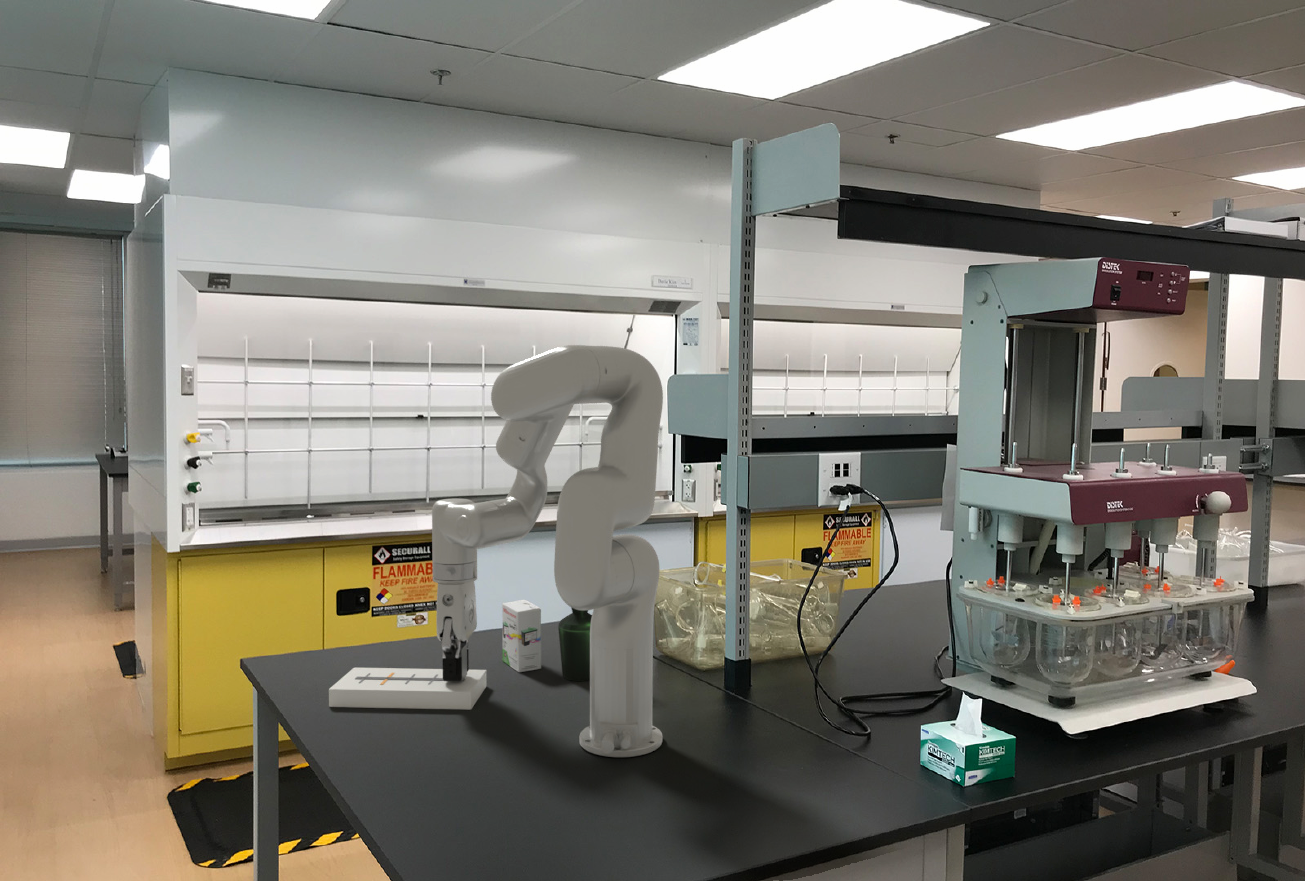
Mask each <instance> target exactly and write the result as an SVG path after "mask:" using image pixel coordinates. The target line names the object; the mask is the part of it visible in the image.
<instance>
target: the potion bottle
mask: <svg viewBox="0 0 1305 881" xmlns="http://www.w3.org/2000/svg"><path fill="white" fill-rule="evenodd" d="M570 609H571V612H572V613H570V614H568V615H567V616H565V617H563V618H562V619H560V621H559V623H558V624H557V629H558V639H559V649H560V650H559V651H560V662H561V673H562V677H563V678H564V679H566V680H569V681H573V682H581V681H582V682H583V681H584V682H585V681H590V625H591V618H592V613H589V610H585V611H583V610H577V609H574V608H572V607H570Z"/></svg>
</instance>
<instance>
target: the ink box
mask: <svg viewBox="0 0 1305 881" xmlns="http://www.w3.org/2000/svg"><path fill="white" fill-rule="evenodd" d="M501 605H502V607H501V608H502V614H501V616H502V655H501V656H502V662H503V663H505V664H506V665H507V666H509V667H510V668H512V669H513V670H515V671H516V672H518V673H522V672H529V671H534V670H535V671H536V670H540V669H542V615H541V614H542V609H541V607H539V606H537V605H536V604H534V603H532V602H530V601H528V600H526V599H520V600H519V599H518V600H514V601H510V602H509V601H508V602H503V603H502V604H501Z"/></svg>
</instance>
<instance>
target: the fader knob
mask: <svg viewBox="0 0 1305 881" xmlns="http://www.w3.org/2000/svg"><path fill="white" fill-rule="evenodd" d="M452 645H454V646H455V649H456V643H452ZM467 649H468V648H467V643H460V657H462V679H461V681H455V682H462V681H463V679H464V678H465V677H466V675H467Z"/></svg>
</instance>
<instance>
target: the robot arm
mask: <svg viewBox="0 0 1305 881" xmlns="http://www.w3.org/2000/svg"><path fill="white" fill-rule="evenodd" d="M490 400H491V405H492V408H493V411H494V412H495V414H496V415H497V416H499V417H500V418H501V419H503V420H504V421H506V422H505V424H504V426H503V427H502V430H501V432H500V434H499V436H498V438H497V440H496V442H495V450H496V452H497V454H498V456H499V457H500V458H501V460H502V461H504V462H505V464H507V465H508V466H510V467H511V468H512V469H515V470H516V475H515V479H514V481H513V484H512V486H511V488H510V490H509V492H508V494H507V495H506V497H505V498H501V499H495V500H493V499H492V500H486V501H483V502H481V501H480V502H474V501H473V500H471V499H468V498H444V499H439V500H437V501H435V502H434V504H433V505H432V510H431V532H432V533H431V541H432V543H431V544H432V545H431V546H432V547H431V548H432V555H431V556H432V582H434V583H436V584H437V593H436V622H435V623H436V638H437V639H438V640H439V641H440V642H441V648H442V655H441V656H442V669H443V680H444V681H461V679H462V657H460V643H467V672H468V670H470V668H469V663H470V660H469V654H470V652H469V650H470V649H469V638H470V636H471V635H473V633H474V632H475V631H476V629H477V628H478V627H477V626H478V619H477V618H478V616H477V615H478V614H477V599H476V597H477V596H476V586H475V582H476V581H477V580H478V550H479V549H480V550H481V549H485V548H490V547H495V546H499V545H504V544H511V543H513V542H518V541H521V540H522V539H524V537H526V536H527V535H528V534H529V533H530V531H531V530H532V529H533V527H534V526H535V524H536V522H537V521H538V518H539V517H540V514H541V512H542V510H543V508H544V506H545V504H546V501H547V496H548V476H547V471H546V466H545V465H546V463H547V460H548V458H549V457H550V454H551V453H552V450H553V448H554V446H555V444H556V442H557V440H558V438H559V436H560V433H561V432H562V430H563V427H564V426H565V424H566V421H567V420H568V418H569V416H570V413H571V412H572V409H573V407H574V405H582V404H584V405H585V404H606V403H607V404H609V405H610V406H611V411H610V412H609V414H608V416H607V419H606V420H605V422H604V425H603V427H602V432H601V438H600V453H599V461H598V465H597V466H595V467H594V466H593V467H589V468H584V469H582V470H581V469H580V470H579V471H576V472H574V473H573V474H572V475H571V476H570V477H569V478H568V479H567V480H566V481H565V482H564V485H563V486H562V488H561V491H560V494H559V497H558V500H557V509H556V510H557V511H556V523H555V524H556V525H555V527H556V528H555V540H554V541H555V542H554V544H555V546H554V564H553V567H554V568H553V573H554V576H553V577H554V583H555V586H556V590H557V592H558V595H559V596H560V598H561V600H562V601H563V602H564V603H565V605H568V607H570V608H571V607H572V608H574V609H577V610H583V611H585V610H588V611H591V610H592V613H591V615H592V618H591V625H590V680H589V726H586V727H584V728H583V730H581V731H580V733H579V736H578V737H579V745H580V746H581V747H582V748H583V749H584V750H585V751H587V752H589V753H591V754H594V755H598V756H602V757H609V758H631V757H639V756H643V755H647V754H649V753H652V752H653V751H656V750H657V749H659V748H660V747H661V746H662V743H663V737H664V736H663V733H662V731H661V730H660V729H659V728H658V727H656V726H655V725H653V692H654V691H653V684H654V683H653V682H654V681H653V679H654V678H653V677H654V676H653V673H654V672H653V671H654V670H653V669H654V666H653V664H654V661H653V660H654V658H653V656H654V654H653V651H654V645H653V644H654V643H653V642H654V614H655V604H656V603H655V602H656V597H657V593H658V592H657V591H658V587H659V579H660V561H659V556H658V554H657V551H656V550H655V548H654V547H653V545H652V544H651V543H650V542H649V541H648V540H646V539H645V538H644V537H642V536H639V535H635V534H627V533H626V534H617V535H614V531H615V532H616V531H621V530H624V529H628V528H629V529H630V528H633V527H636V526H638V525H641V524H643V523H645V522H646V521H647V520H648V519H650V517H651V515H652V514H653V511H654V506H655V500H656V488H657V487H656V485H657V470H658V457H659V456H658V454H659V434H660V426H661V419H662V413H663V404H664V393H663V386H662V380H661V378H660V376H659V373H658V371H657V369H656V368H655V367H654V365H653V363H651V362H650V361H649V360H648V359H647V358H646V357H645V356H643V355H642V354H640V353H638V352H636V351H634V350H631V349H628V348H624V347H619V346H608V345H582V344H576V345H575V344H571V345H569V344H568V345H563V346H562V345H561V346H558V347H555V348H552V349H549V350H547V351H544V352H542V353H540V354H538V355H534V356H532V357H530V358H526V359H525V360H521V361H519V362H517V363H514V364H511V365H509V366H508V367H506V368H505V369H503V370H502V371H501V372H500V373H499V375H498V376H497V377H496V379H495V381H494V382H493V385H492V388H491V393H490ZM452 643H456V649H455V646H454V645H452Z"/></svg>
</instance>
